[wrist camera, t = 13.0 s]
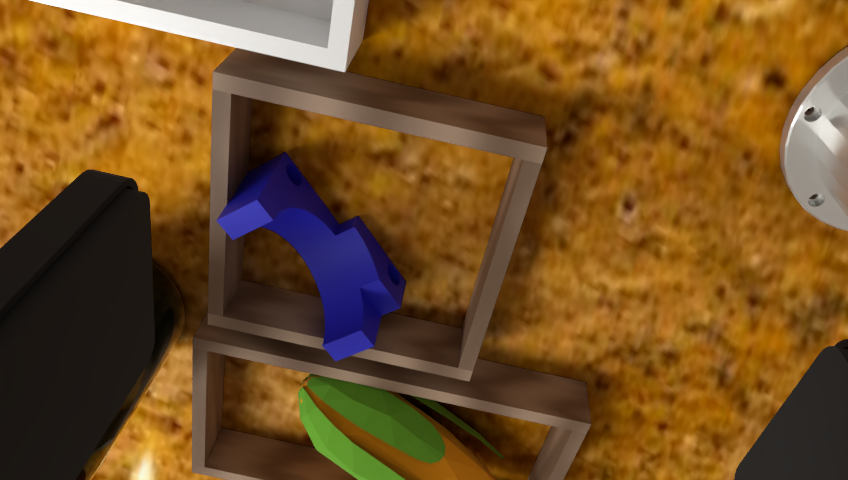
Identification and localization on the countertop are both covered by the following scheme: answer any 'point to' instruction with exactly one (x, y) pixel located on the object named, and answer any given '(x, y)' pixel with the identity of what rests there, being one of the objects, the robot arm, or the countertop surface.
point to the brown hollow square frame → (378, 107)
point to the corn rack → (312, 471)
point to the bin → (249, 24)
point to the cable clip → (321, 252)
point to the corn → (384, 433)
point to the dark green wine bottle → (166, 335)
